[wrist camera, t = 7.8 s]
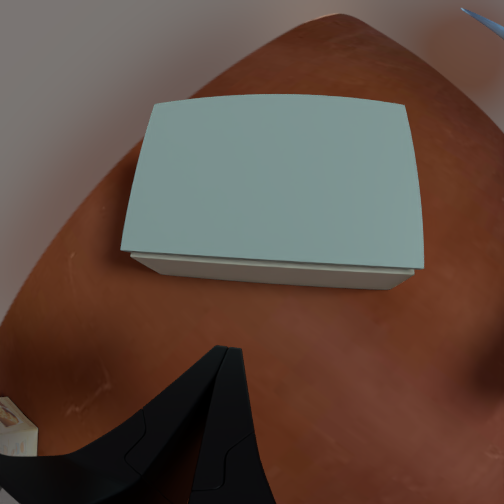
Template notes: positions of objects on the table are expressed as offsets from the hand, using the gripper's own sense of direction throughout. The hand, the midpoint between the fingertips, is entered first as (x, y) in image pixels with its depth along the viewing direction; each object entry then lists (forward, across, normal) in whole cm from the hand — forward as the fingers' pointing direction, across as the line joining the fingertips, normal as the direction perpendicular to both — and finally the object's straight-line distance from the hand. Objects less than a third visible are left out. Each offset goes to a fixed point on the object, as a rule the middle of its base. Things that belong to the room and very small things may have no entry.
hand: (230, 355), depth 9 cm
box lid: (+12, 0, -4) cm, 12 cm away
